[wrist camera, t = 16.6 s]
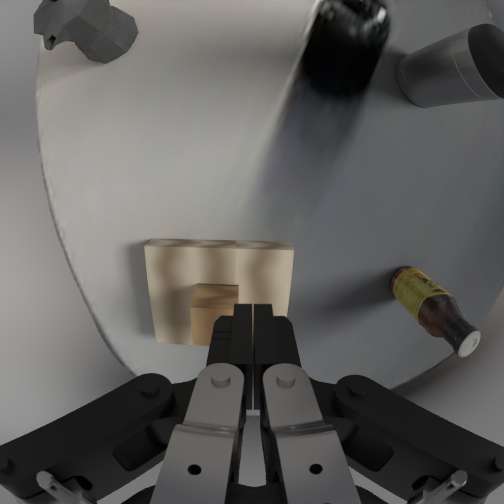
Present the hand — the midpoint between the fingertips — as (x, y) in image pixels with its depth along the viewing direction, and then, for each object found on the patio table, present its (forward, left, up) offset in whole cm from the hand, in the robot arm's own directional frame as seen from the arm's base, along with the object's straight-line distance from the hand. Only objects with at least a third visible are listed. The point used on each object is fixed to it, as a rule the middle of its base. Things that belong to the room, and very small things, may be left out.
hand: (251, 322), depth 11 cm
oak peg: (+3, +13, -28) cm, 31 cm away
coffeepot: (+21, -28, -28) cm, 45 cm away
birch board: (+3, +13, -28) cm, 31 cm away
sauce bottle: (-28, +11, -28) cm, 41 cm away
